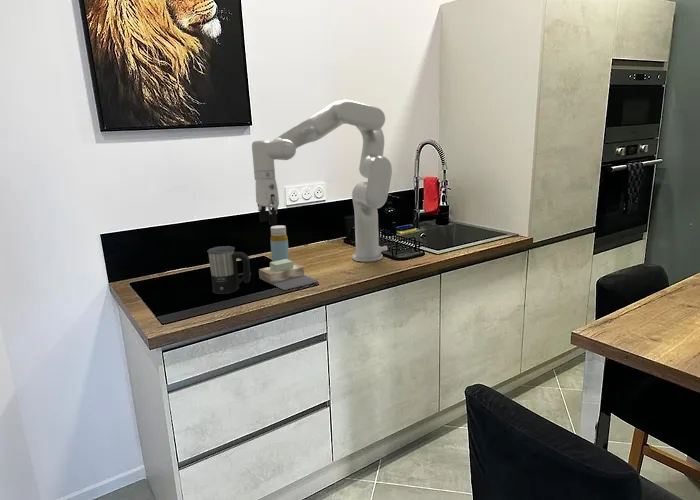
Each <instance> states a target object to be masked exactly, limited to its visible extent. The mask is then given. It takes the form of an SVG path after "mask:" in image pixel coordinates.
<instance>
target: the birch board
mask: <svg viewBox="0 0 700 500" xmlns="http://www.w3.org/2000/svg"><path fill="white" fill-rule="evenodd" d="M304 269H305V267H304V266H303V265H300V264H298V263H295V262H293V268H291V269H287V270H282V271H278V272H276V271H274V270H272V269H270V266H269V267H268V266H267V267H263V268H259V269H258V275H259V277H258V278H259V279H260V280H263V281H264V282H266V283H268V284H270V285H272V284H271V283H274V282H278V281H282V280H286V279H290V278H295V277H299V276H303V275H305V270H304Z"/></svg>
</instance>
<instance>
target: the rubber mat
mask: <svg viewBox="0 0 700 500" xmlns="http://www.w3.org/2000/svg"><path fill="white" fill-rule="evenodd" d="M319 282H320V281H319V280H317V279H315V278H312V277H310V276H308V275H305V274H304V275H303V276H299V277H295V278H290V279H286V280H282V281H278V282H274V283H271V284H270V285H272V286H273V285H274V287H275V286H276V287H275V288H277V287H278V288H277V289H279V288H280V289H279V290H281V289H282V290H281V291H283V290H286V291H289V290H288V289H290V290H293V289H292V288H294V289H296V288H295V287H298V288H301V287H300V286H302V287H305V285H306V286H310V285H313V284H312V283H314V284H317V283H319ZM309 284H310V285H309Z"/></svg>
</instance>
